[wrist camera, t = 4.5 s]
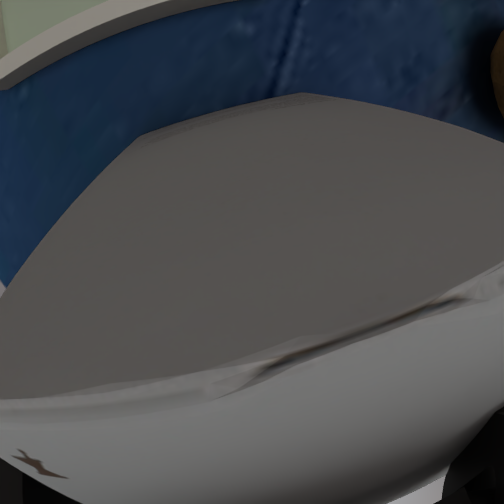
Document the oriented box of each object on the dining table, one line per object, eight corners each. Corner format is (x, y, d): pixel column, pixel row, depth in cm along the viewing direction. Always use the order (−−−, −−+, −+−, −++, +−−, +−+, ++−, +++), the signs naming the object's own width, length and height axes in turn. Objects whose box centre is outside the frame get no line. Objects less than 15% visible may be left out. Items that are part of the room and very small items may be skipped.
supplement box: (188, 278, 19) (195, 548, 6) (134, 135, 14) (-83, 401, 2) (333, 238, 19) (474, 464, 6) (310, 89, 14) (629, 198, 2)
